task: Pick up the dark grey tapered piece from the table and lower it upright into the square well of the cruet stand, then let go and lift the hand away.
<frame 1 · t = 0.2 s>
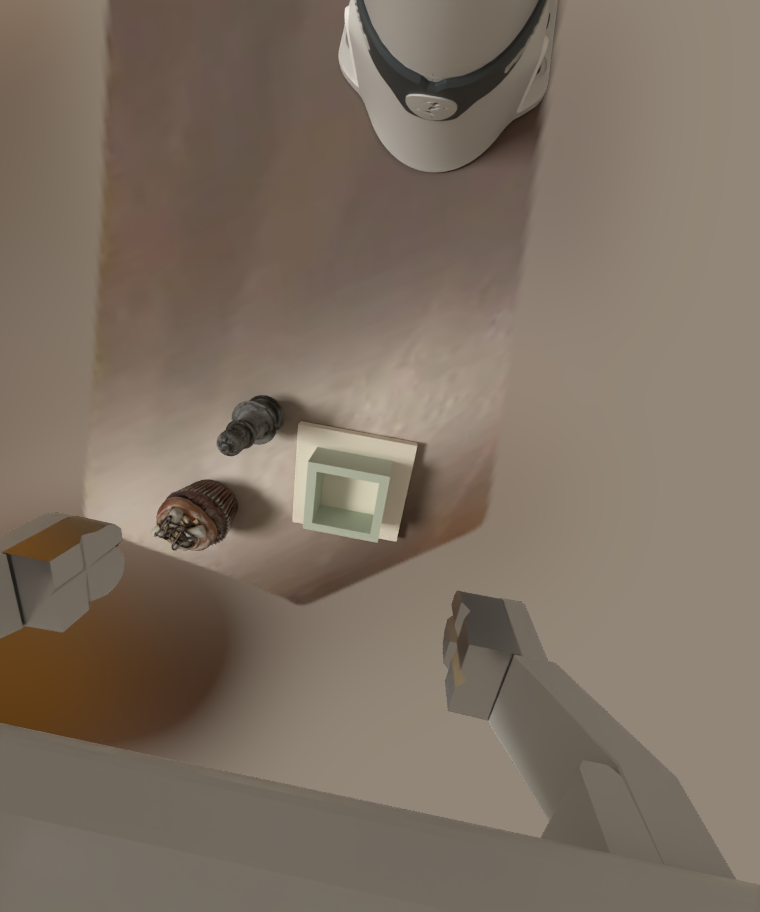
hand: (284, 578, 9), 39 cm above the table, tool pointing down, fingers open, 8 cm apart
dark grey tapered piece: (265, 413, 49), on the table
cruet stand: (351, 482, 52), on the table
cupcake: (213, 500, 57), on the table
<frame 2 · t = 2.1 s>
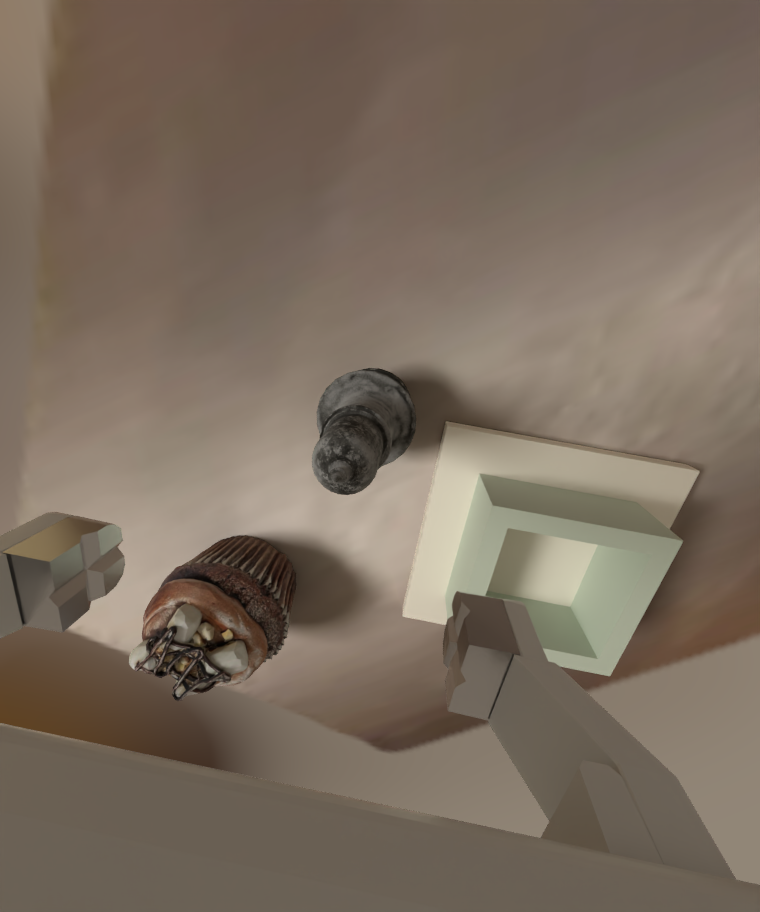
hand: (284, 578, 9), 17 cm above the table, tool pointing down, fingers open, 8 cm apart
dark grey tapered piece: (373, 407, 25), on the table
cruet stand: (528, 543, 27), on the table
cupcake: (252, 573, 31), on the table
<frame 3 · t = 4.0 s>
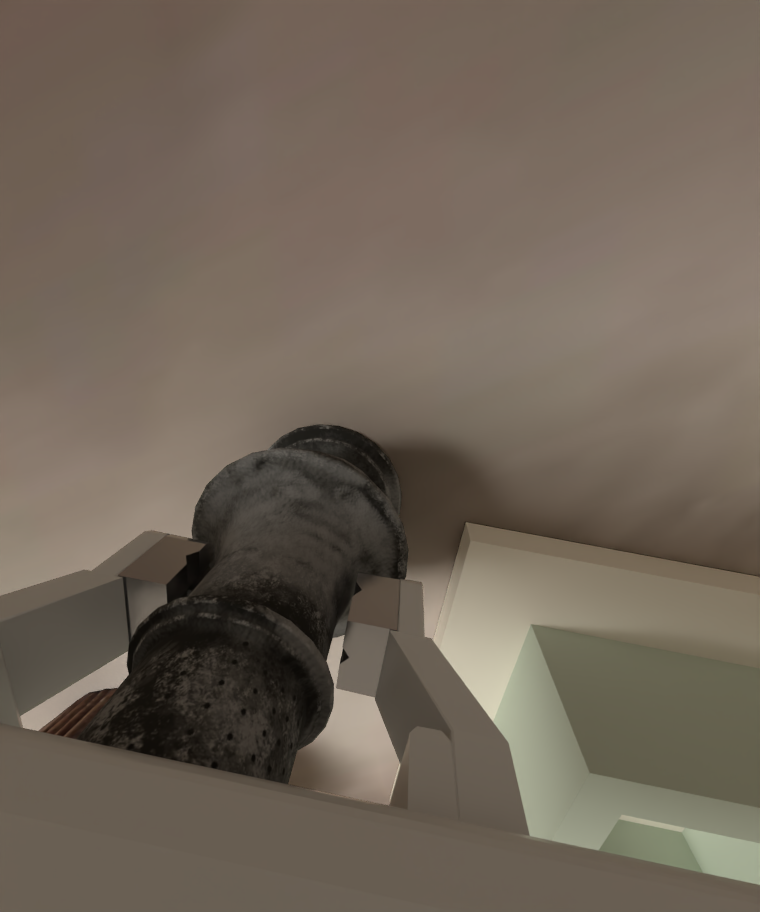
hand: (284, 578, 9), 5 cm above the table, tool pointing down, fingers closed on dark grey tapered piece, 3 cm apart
dark grey tapered piece: (329, 493, 13), on the table, touching gripper
cruet stand: (608, 720, 15), on the table
cupcake: (145, 738, 19), on the table
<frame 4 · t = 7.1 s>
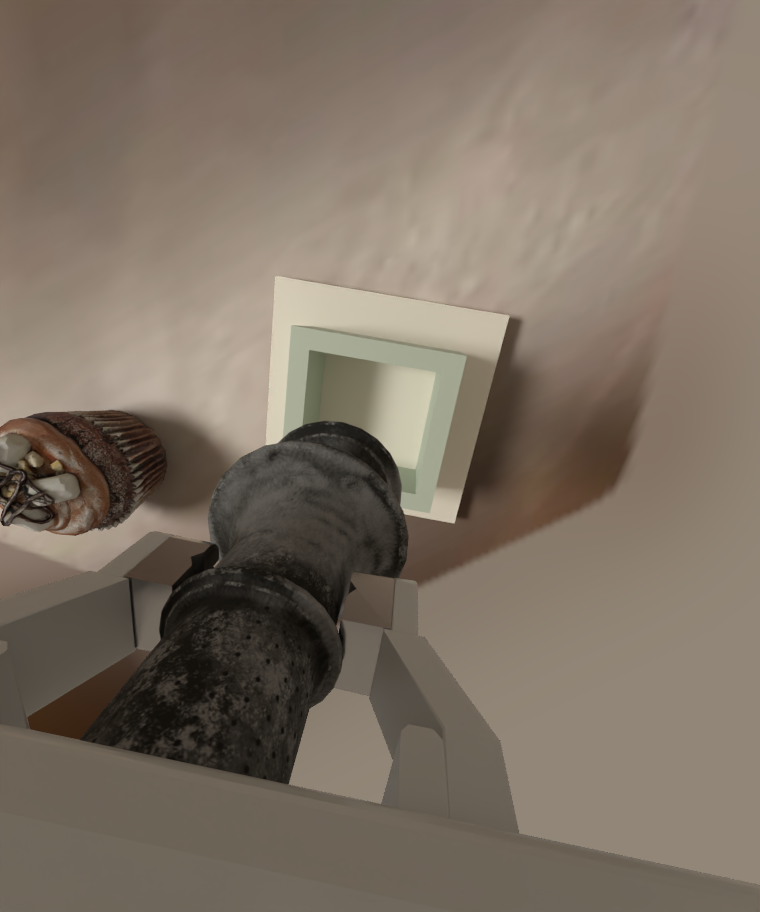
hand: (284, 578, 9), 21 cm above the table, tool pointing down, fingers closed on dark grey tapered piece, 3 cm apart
dark grey tapered piece: (333, 486, 14), point 15 cm above the table, touching gripper
cruet stand: (374, 407, 28), on the table
cupcake: (125, 453, 32), on the table
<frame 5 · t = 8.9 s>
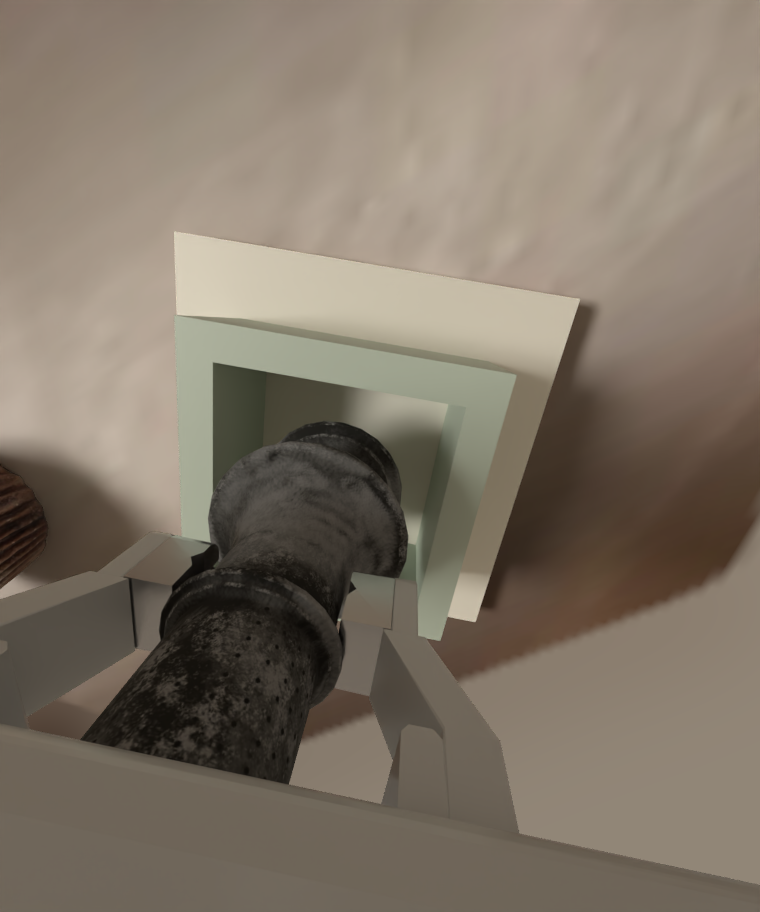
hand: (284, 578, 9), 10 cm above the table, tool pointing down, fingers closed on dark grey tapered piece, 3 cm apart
dark grey tapered piece: (333, 486, 14), point 4 cm above the table, touching gripper
cruet stand: (351, 447, 18), on the table
when the fingers open (8 cm above the table, at t = 10.2 s): dark grey tapered piece stays where it is, resting on cruet stand.
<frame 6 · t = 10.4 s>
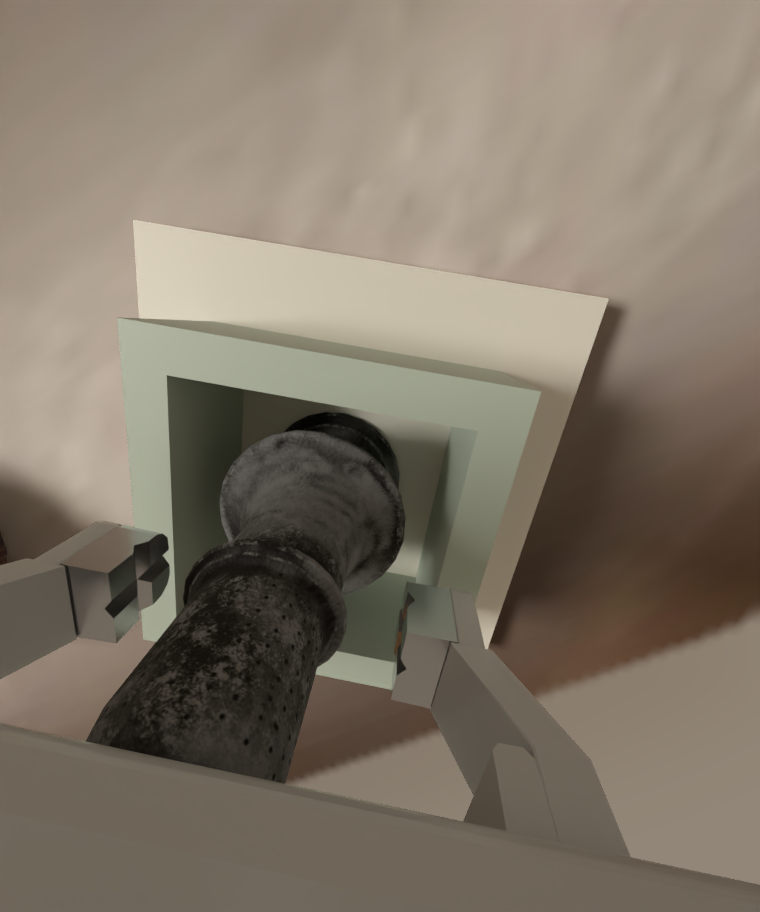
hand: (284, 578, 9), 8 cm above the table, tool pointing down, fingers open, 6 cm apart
dark grey tapered piece: (335, 474, 15), point 1 cm above the table, touching cruet stand
cruet stand: (342, 467, 16), on the table
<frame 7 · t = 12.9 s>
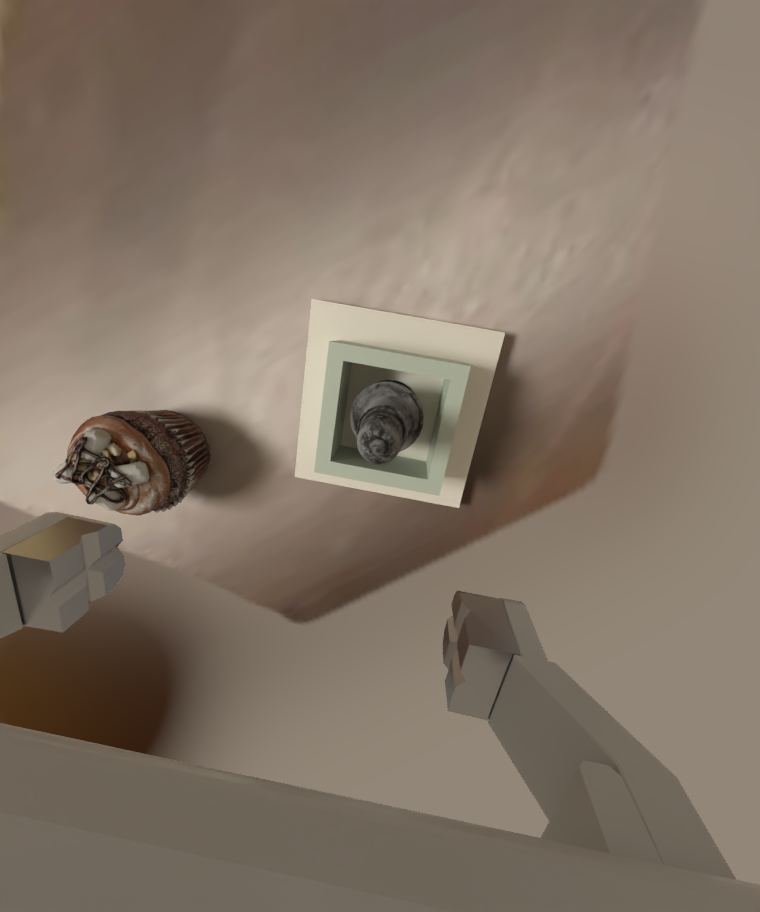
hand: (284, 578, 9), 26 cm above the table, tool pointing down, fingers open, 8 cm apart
dark grey tapered piece: (389, 409, 32), point 1 cm above the table, touching cruet stand
cruet stand: (391, 408, 33), on the table
cupcake: (173, 447, 37), on the table
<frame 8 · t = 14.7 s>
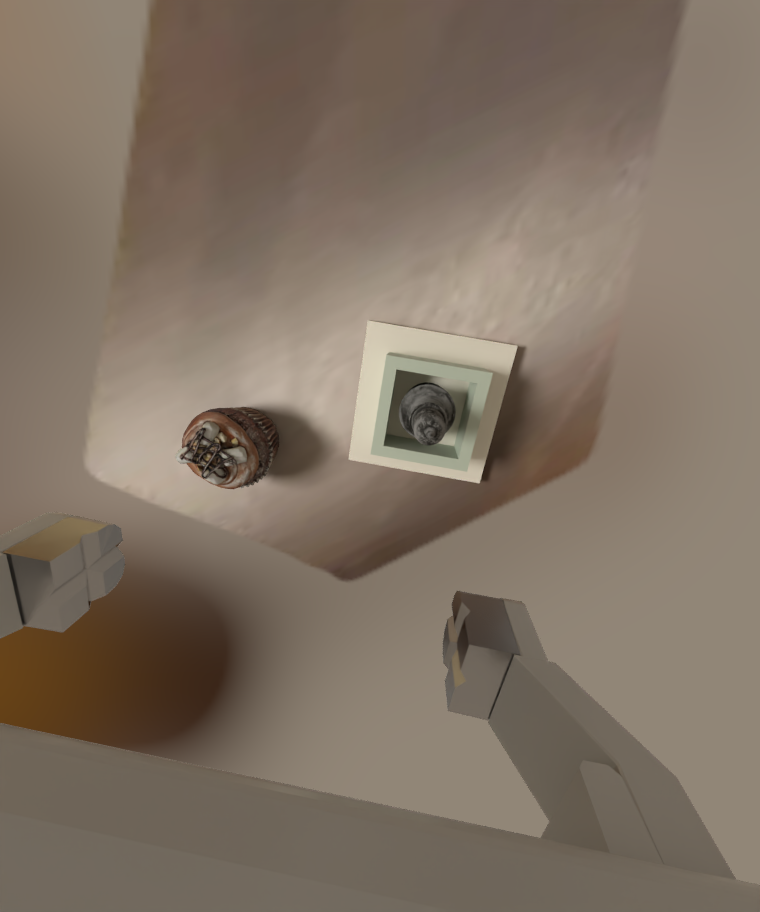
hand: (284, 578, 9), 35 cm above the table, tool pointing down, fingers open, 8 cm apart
dark grey tapered piece: (426, 405, 41), point 1 cm above the table, touching cruet stand
cruet stand: (426, 404, 42), on the table
cupcake: (249, 437, 46), on the table
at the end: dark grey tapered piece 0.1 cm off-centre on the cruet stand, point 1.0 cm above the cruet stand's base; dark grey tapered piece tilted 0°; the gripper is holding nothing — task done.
